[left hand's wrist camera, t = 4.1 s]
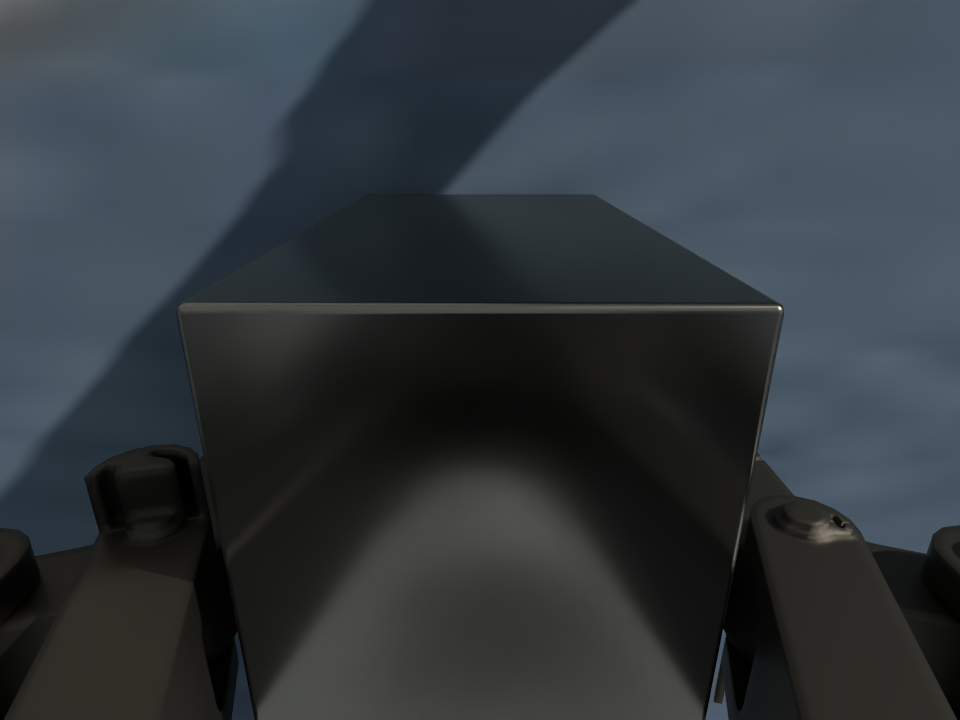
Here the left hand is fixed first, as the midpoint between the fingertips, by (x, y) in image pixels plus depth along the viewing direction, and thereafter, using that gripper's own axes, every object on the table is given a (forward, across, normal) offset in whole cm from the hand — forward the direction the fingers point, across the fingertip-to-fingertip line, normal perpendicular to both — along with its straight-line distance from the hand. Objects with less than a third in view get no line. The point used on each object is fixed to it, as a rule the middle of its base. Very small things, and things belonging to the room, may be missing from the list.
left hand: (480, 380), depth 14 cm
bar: (+1, 0, -7) cm, 7 cm away
